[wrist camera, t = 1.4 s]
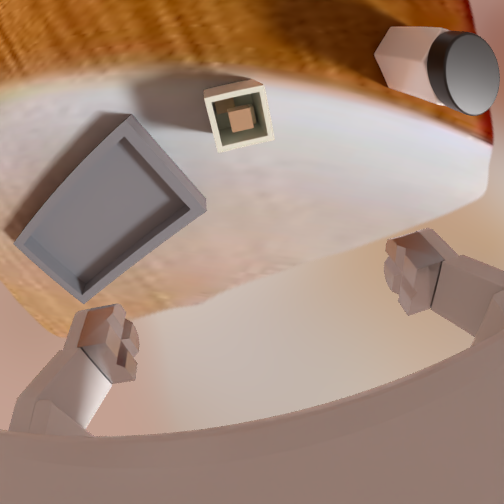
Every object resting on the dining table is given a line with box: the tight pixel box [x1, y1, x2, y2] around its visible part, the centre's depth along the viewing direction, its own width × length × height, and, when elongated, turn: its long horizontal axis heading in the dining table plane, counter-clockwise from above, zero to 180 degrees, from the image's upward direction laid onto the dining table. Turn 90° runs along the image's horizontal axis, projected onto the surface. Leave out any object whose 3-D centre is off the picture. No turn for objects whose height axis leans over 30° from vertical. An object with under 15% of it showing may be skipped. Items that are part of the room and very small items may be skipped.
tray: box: [13, 114, 207, 304], centre depth 34 cm, size 13×22×3 cm, turn 123°
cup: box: [204, 79, 275, 153], centre depth 28 cm, size 5×5×8 cm
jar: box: [374, 26, 500, 116], centre depth 24 cm, size 9×8×12 cm
